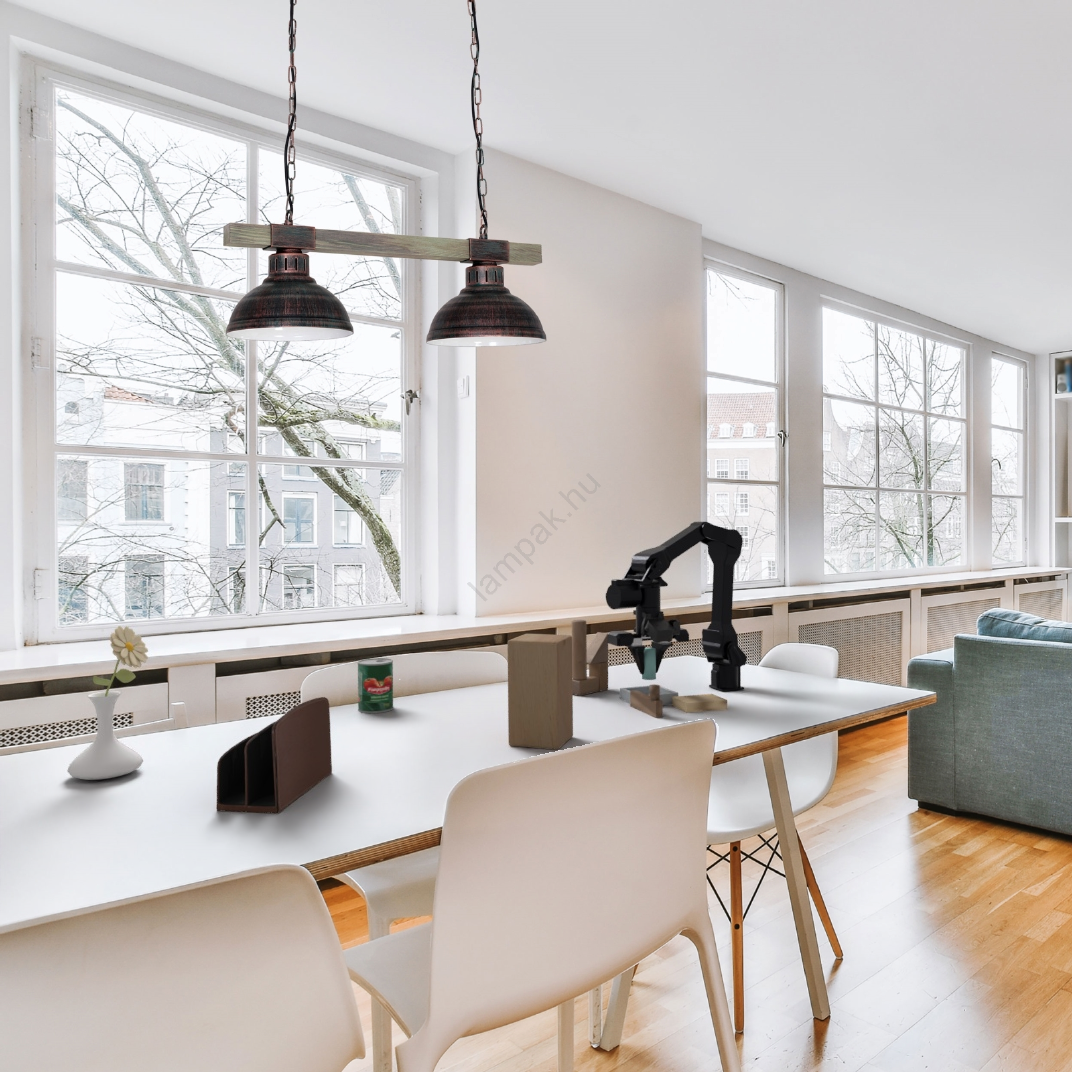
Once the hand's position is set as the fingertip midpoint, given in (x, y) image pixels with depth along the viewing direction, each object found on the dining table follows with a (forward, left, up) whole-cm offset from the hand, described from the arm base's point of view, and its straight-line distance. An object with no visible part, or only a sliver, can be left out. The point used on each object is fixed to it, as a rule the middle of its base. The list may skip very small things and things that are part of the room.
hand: (648, 673), depth 191 cm
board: (-7, +10, -7) cm, 14 cm away
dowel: (0, 0, -1) cm, 1 cm away
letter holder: (+84, +34, -7) cm, 91 cm away
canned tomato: (+61, -17, -7) cm, 63 cm away
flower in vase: (+111, +14, -7) cm, 112 cm away
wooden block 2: (+9, -15, -7) cm, 19 cm away
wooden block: (+36, +23, -7) cm, 43 cm away
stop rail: (+6, +9, -6) cm, 12 cm away
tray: (0, 0, -6) cm, 7 cm away
